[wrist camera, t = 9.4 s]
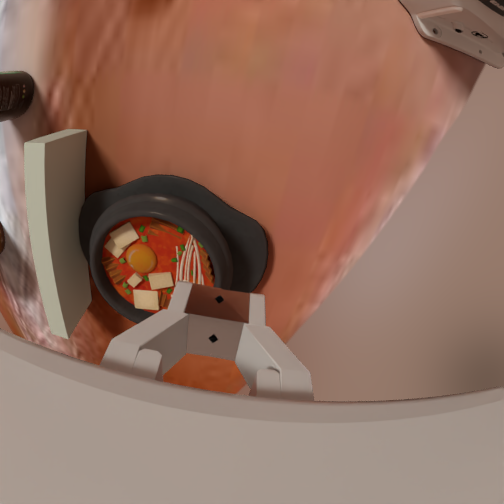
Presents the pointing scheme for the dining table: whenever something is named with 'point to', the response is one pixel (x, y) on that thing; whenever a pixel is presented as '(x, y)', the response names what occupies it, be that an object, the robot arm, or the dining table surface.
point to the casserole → (167, 243)
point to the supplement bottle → (15, 94)
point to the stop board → (58, 225)
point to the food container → (2, 239)
